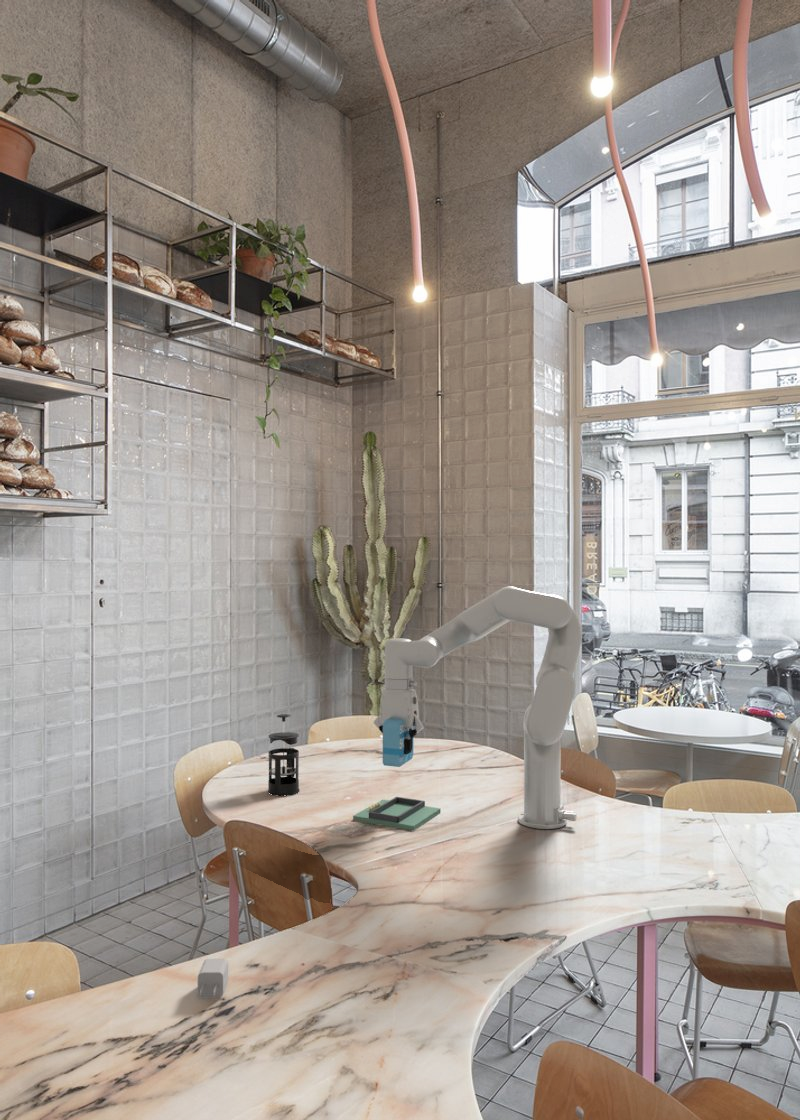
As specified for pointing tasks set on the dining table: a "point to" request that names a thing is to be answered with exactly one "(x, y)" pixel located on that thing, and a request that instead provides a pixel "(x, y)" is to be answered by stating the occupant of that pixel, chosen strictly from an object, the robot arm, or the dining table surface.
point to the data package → (394, 743)
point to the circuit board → (398, 813)
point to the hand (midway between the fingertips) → (398, 751)
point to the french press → (279, 783)
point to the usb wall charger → (213, 978)
